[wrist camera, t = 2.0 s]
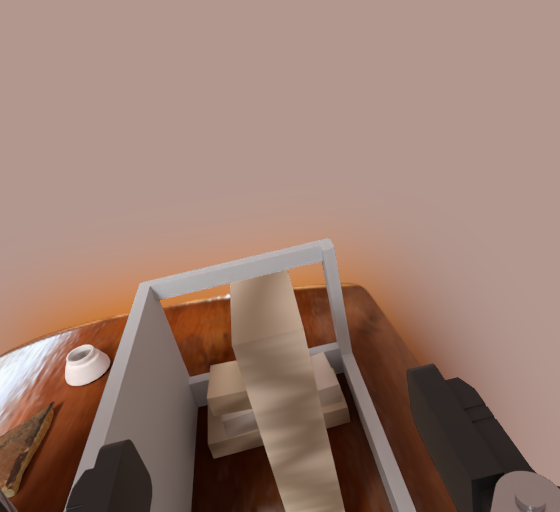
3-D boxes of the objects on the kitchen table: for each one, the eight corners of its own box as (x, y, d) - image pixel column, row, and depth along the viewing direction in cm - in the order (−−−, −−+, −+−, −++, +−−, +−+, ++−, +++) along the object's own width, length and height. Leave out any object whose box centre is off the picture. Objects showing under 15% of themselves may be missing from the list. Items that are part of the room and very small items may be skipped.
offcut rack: (161, 690, 25) (52, 543, 19) (188, 402, 45) (140, 282, 38) (450, 619, 25) (439, 450, 19) (351, 363, 45) (329, 237, 39)
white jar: (97, 388, 50) (119, 357, 54) (86, 368, 49) (109, 338, 53) (59, 389, 51) (83, 359, 56) (47, 369, 50) (73, 340, 54)
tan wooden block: (301, 559, 30) (231, 345, 22) (289, 479, 35) (230, 283, 27) (353, 547, 30) (303, 328, 22) (333, 468, 35) (287, 269, 27)
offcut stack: (214, 460, 38) (193, 410, 36) (213, 415, 43) (195, 367, 40) (351, 423, 39) (341, 370, 36) (335, 382, 43) (325, 333, 41)
